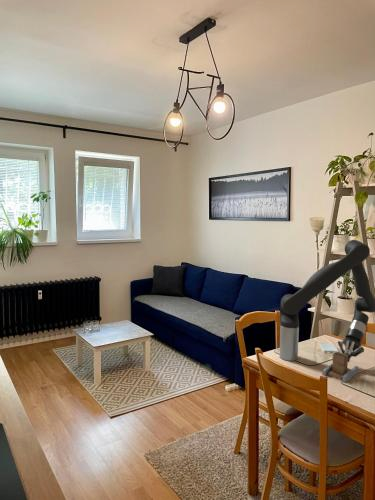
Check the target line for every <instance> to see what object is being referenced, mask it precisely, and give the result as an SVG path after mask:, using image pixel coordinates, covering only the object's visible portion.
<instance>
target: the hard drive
mask: <svg viewBox="0 0 375 500" xmlns="http://www.w3.org/2000/svg"><path fill="white" fill-rule="evenodd" d="M318 346H319V347H320V349H321V351H322V352H323V353H324V352H335V353H337V352H339V353H341V352H340V351H339V350H338V348H337V347H336V345H335V344H334V343H331V342H330V343H329V342H326V343H325V342H318ZM335 353H334V354H335Z"/></svg>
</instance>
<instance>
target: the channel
mask: <svg viewBox="0 0 375 500" xmlns="http://www.w3.org/2000/svg"><path fill="white" fill-rule="evenodd" d="M332 366H333V362H332V363H331V364H330V365H328V366H326V367H325V368H324V369H322V374H321V375H322V376H324V377H325V376H327V375H328V373H329V372H330V371H332ZM347 370H348V371H349V372H347V373H346V374H345V375H343V376H342V380H341V381H342V383H346V382H347V381H349V380H350V379H351V378H352V377H353V376H355V375H356V374H357V373H358V372H359V366H357V365H355V366H353V368H348V367H347ZM348 379H349V380H348Z"/></svg>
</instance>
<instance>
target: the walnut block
mask: <svg viewBox="0 0 375 500" xmlns="http://www.w3.org/2000/svg"><path fill="white" fill-rule="evenodd" d="M339 352H340V351H339ZM339 352H337V353H333V354H332V363H333V366H332V371H330V372H329V373H328V374H327V375H328V376H329V377H331V378H334V379H337V380H341V381H342V376H343V375H345V374H346V373H347V372H349V371H348V370H347V368H348V366H349V364H348V363H349V362H348V355H347V354H343V353H342V352H340V353H339Z"/></svg>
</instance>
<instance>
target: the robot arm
mask: <svg viewBox="0 0 375 500" xmlns="http://www.w3.org/2000/svg"><path fill="white" fill-rule="evenodd" d="M370 252H371V250H370V247H369V245H367V244H365V243H363V242H362V241H360V240H357V239H351V240H349V241H347V242H346V243H345V246H344V253H345V255H344V256H343V257H342V258H341V259H339V260H337V261H334V262H332V263H329V264H327V265H324V266H323V267H321V268H319V270H317V271H316V272H314V273H313V274H312V275H311V276H310V278H308V279H307V281H306V282H305V284H304V285H303V286H302V287H301V288H300V289H299V290H297V291H296V292H295V293H294V294H292V293H287V294H285V295H284V296H282V298H281V299H280V310H279V311H280V312H279V313H280V314H279V315H280V316H279V317H280V332H279V334H280V335H279V356H278V357H279V358H280V359H281V360H284V361H288V362H292V361H293V362H294V361H297V360H298V357H299V355H298V354H299V336H300V335H299V333H300V332H299V331H300V328H299V327H300V320H299V312H300V311H301V310H302V309H303V308H304V307H305V306H306V305H307V304H308V303H309V302H310V301H312V299H314V298H315V297H317V296H319V294H321V293H322V292H323V291H325V290H326V289H327V288H329V287H330V286H331V285H332V284H334V283H335V282H336V281H337V280H339V279H340V278H341V277H343V276H344V275H346V273H348V272H349V271H350V270H351V273H352V279H353V283H354V288H355V293H356V295H357V297H358V298H356V299H355V300H354V310H353V311H354V313H353V316H352V320H351V322H350V324H349V326H348V329H347V330H346V331H347V332H346V333H345V338H344V339H342V341H340V340H338V341H337V344H338V346H339V349H340V351H341V353H343V354H347V355H348V363H350V361H351V358H352V357H354V358H356V357H357V356H359V355H361V354H363V353H364V352H365V348H364V347H363V346H362V342H363V338H364V336H365V334H366V329H367V325H368V321H369V318H370V317H369V315H368V314H366V313H375V296H374V293H373V292H372V290H371V283H370V280H369V276H368V273H367V271H366V269H365V268H364V267H365V266H364V263H363V262H364V261H365V260H366V259H368V257H369V256H370ZM364 312H365V313H364ZM343 346H344V347H345V348H344V347H343Z"/></svg>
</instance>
